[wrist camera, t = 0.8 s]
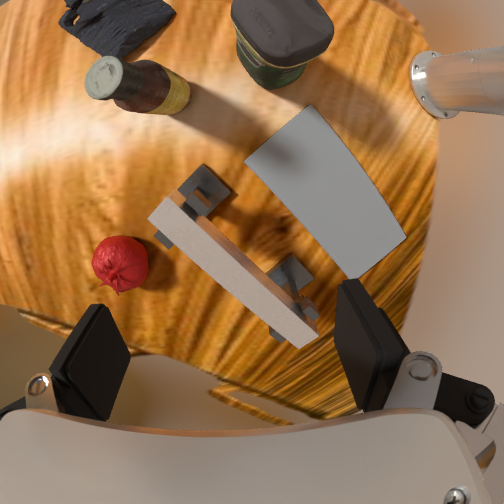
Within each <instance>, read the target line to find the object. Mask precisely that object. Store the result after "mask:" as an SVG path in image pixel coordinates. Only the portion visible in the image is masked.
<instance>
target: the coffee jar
mask: <svg viewBox="0 0 504 504" xmlns="http://www.w3.org/2000/svg"><path fill="white" fill-rule="evenodd" d="M231 19H232V22H233V25H234V27H235V30H236V34H237V55H238V57H239V59H240V61H241V63H242V65H243V66H244V68H245V69H246V71H247V72H248V73H249V75H250V76H251V77H252V78H253V79H254V81H255V82H256V83H257V84H258V85H260V86H261V87H263V88H265V89H270V90H273V89H278V88H281V87H284V86H286V85H288V84H290V83H292V82H293V81H295V80H296V79H298V78H299V77H300V76H301V74H302V73H303V71H304V69H305V67H306V65H307V63H308V62H310V61H312V60H314V59H315V58H317V57H319V56H320V55H321V54H323V53H324V52H325V51H326V50H327V48H328V46H329V44H330V42H331V41H332V38H333V36H334V26H333V23H332V21H331V19H330V17H329V16H328V15H327V13H326V12H325V11H324V9H323V8H322V6H321V5H320V4H319V3H318V2H317V0H233V2H232V6H231Z"/></svg>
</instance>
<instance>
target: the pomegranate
mask: <svg viewBox="0 0 504 504" xmlns="http://www.w3.org/2000/svg"><path fill="white" fill-rule="evenodd" d="M92 267H93V269H94V272H95V274H96V276H97V277H98V278H99V279H101V280H102V281H103V283H102V284H101V285H100V286H102V285H105V284H107V285H109V286H111V287H112V288H113V290H114V291H116V293H117V294H118V292H125V291H127V290H130V289H132V288H137V287H138V286H141V285H142V283H143V282H144V281H145V280H146V278H147V276H148V271H149V268H148V253H147V250H146V248H145V247H144V245H142V244H141V243H139V242H138V241H136V240H135V239H133V238H132V237H129V236H112V237H108V238H106V239H104V240H103V241H101V242H100V244H99V245H98V247H97V248H96V250H95V252H94V254H93V259H92ZM100 286H99V287H100ZM118 296H119V294H118Z"/></svg>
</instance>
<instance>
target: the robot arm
mask: <svg viewBox="0 0 504 504" xmlns="http://www.w3.org/2000/svg"><path fill="white" fill-rule="evenodd" d="M409 77H410V83H411V87H412V90H413V92H414V95H415V97H416V98H417V100H418V102H419V103H420V104H421V106H422V107H423V108H424V109H425V110H426V111H427V112H428V113H430V114H431V115H433V116H435V117H437V118H442V119H448V118H453V117H455V116H456V115H457V114H458V113H459V112H460V111H467V112H479V113H488V114H496V115H504V46H500V47H493V48H485V49H478V50H471V51H466V52H460V53H455V54H450V55H446V56H443V55H441V54H440V53H438V52H435V51H424V52H421V53H419V54H417V55H416V56H415V57H414V58H413V60H412V62H411V64H410V70H409ZM334 343H335V346H336V349H337V352H338V354H339V357H340V360H341V362H342V365H343V368H344V371H345V374H346V376H347V379H348V382H349V385H350V388H351V391H352V393H353V396H354V399H355V402H356V405H357V408H358V409H359V410H360V409H363V412H364V413H360V414H355V415H349V416H345V417H340V418H335V419H329V420H323V421H317V422H311V423H304V424H297V425H290V426H281V427H272V428H261V429H247V430H225V431H224V430H223V431H222V430H221V431H193V430H171V429H156V428H146V427H137V426H129V425H122V424H115V423H109V422H106V420H108V419H109V417H110V414H111V411H112V408H113V405H114V402H115V400H116V397H117V394H118V391H119V389H120V386H121V383H122V380H123V378H124V375H125V372H126V370H127V367H128V365H129V362H130V358H131V357H130V352H129V350H128V348H127V346H126V344H125V342H124V340H123V338H122V336H121V334H120V332H119V330H118V328H117V326H116V324H115V321H114V319H113V317H112V315H111V312H110V310H109V308H108V307H106V306H105V305H104V304H91V305H90V306H89V307H88V309H87V310H86V312H85V313H84V315H83V316H82V317H81V319H80V320H79V322H78V323H77V325H76V326H75V328H74V329H73V331H72V332H71V334H70V335H69V337H68V338H67V340H66V342H65V343H64V345H63V346H62V348H61V350H60V351H59V353H58V354H57V356H56V358H55V359H54V361H53V363H52V364H51V366H50V368H49V371H50V372H51V373H52V376H51V377H50V376H49V375H47V374H45V373H39V374H37V375H35V376H34V377H32V378H31V379H30V380H29V381H28V383H27V384H26V387H25V397H23V398H21V399H19V400H17V401H16V402H14V403H12V404H10V405H8V406H6V407H4V408H3V409H1V410H0V504H503V502H504V404H502V403H499V404H498V405H497V404H495V399H494V395H493V393H492V392H491V391H490V390H489V389H488V388H487V387H486V386H483V385H481V384H477V383H475V382H471V381H468V380H464V379H462V378H459V377H455V376H452V375H449V374H446V373H443V372H442V365H441V363H440V361H439V360H438V358H437V357H435V356H434V355H432V354H430V353H428V352H423V351H416V352H412V353H411V352H410V351H409V349H408V347H407V346H406V345H405V343H404V341H403V339H402V338H401V336H400V335H399V333H398V331H397V330H396V328H395V327H394V325H393V324H392V322H391V321H390V319H389V318H388V316H387V314H386V313H385V311H384V310H383V309H382V308H377V306H376V305H375V303H374V302H373V300H372V299H371V297H370V296H369V294H368V293H367V291H366V290H365V288H364V287H363V285H362V284H361V282H360V281H359V279H358V278H354V279H347V280H343V282H342V284H339V285H338V291H337V305H336V318H335V329H334Z"/></svg>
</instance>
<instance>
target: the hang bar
mask: <svg viewBox="0 0 504 504" xmlns="http://www.w3.org/2000/svg"><path fill="white" fill-rule="evenodd" d="M186 200H187V199H186V198H185V197H184V196H183V195H182V194H181V193H180V192H179V191H178V190H176V189H175V190H174V191H173V192H171V193H170V194H169V195H168V196H167V197H166V198H165V199H164V200H163V202H162V203H161V204H160V205H159V206H158V207H157V208H156V209H155V211H154V212H153V213H152V214H151V215H150V216H149V218H148V220H149V221H150V222H151V223H152V224H153V225H154V226H155V227H156V228H157V229H159V230H160V231H161V232H162V233H163V234H164V235H165V236H166V237H167V238H168V239H169V240H171V241H172V242H173V243H174V244H175V245H176V246H177V247H178V248H179V249H180V250H182V251H183V252H184V253H185V254H186V255H187V256H188V257H189V258H191V259H192V260H193V261H194V262H195V263H196V264H197V265H198V266H200V267H201V268H202V269H203V270H204V271H205V272H206V273H208V274H209V275H210V276H211V277H212V278H213V279H214V280H216V281H217V282H218V283H219V284H220V285H221V286H223V287H224V288H225V289H226V290H227V291H228V292H230V293H231V294H232V295H233V296H234V297H236V298H237V299H238V300H239V301H240V302H242V303H243V304H244V305H245V306H246V307H248V308H249V309H250V310H251V311H252V312H254V313H255V314H256V315H257V316H258V317H260V318H261V319H262V320H263V321H265V322H266V323H267V324H268V325H269V326H271V327H272V328H273V329H274V330H276V331H277V332H278V333H279V334H281V335H282V336H283V337H284V338H286V339H287V340H288V341H289V342H291V343H292V344H293V345H294V346H296V347H297V348H298V349H300V348H301V347H303V346H304V345H306V344H307V343H309V342H311V341H312V340H314V339H315V338H317V337H318V336H319V333H318V330H317V327H316V323H315V320H314V321H312V320H311V319H310V318H309V317H308V316H307V315H306V314H305V313H304V312H303V311H302V308H301V307H300V306H299V305H298V304H297V303H296V302H295V301H294V300H293V299H292V298H291V297H290V296H289V295H287V294H286V293H285V292H284V291H283V290H282V289H281V288H280V287H279V286H278V285H277V284H276V283H275V282H274V281H273V280H271V279H270V278H269V277H268V276H267V275H266V274H265V273H264V272H263V271H262V270H261V269H260V268H259V267H258V266H257V265H256V264H254V263H253V262H252V261H251V260H250V259H249V258H248V257H247V256H246V255H245V254H244V253H243V252H242V251H241V250H240V249H239V248H238V247H236V246H235V245H234V244H233V243H232V242H231V241H230V240H229V239H228V238H227V237H226V236H225V235H224V234H223V233H222V232H221V231H220V230H218V229H217V228H216V227H215V226H214V225H213V224H212V223H211V222H210V221H209V220H208V219H207V218H206V217H205V216H204V215H202V216H200V215H199V214H198V213H197V212H196V211H195V210H194V209H193V208H192V207H191V206H190V205H189V204H187V203H186V202H185V201H186Z"/></svg>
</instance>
